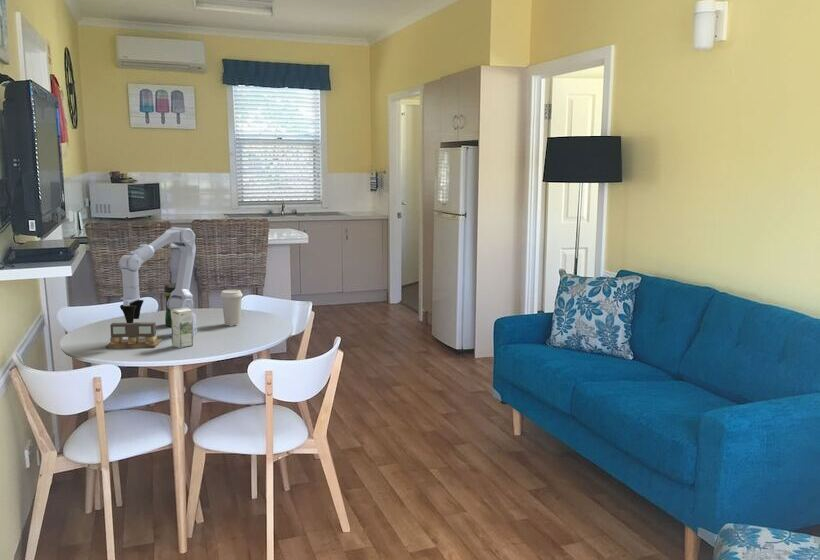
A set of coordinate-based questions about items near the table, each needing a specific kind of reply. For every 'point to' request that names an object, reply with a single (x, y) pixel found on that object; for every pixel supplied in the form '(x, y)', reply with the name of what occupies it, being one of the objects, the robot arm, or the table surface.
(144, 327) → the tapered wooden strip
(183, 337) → the syrup box
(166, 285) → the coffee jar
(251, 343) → the table surface
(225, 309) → the coffee cup
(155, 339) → the display stand
